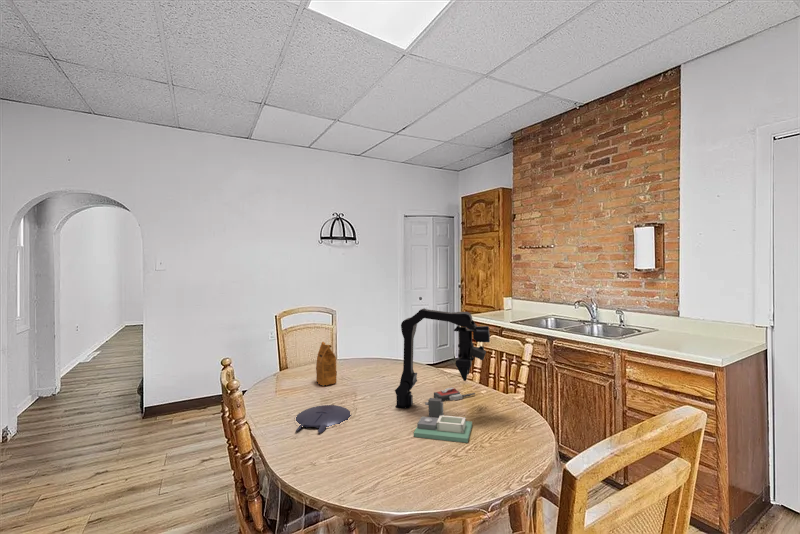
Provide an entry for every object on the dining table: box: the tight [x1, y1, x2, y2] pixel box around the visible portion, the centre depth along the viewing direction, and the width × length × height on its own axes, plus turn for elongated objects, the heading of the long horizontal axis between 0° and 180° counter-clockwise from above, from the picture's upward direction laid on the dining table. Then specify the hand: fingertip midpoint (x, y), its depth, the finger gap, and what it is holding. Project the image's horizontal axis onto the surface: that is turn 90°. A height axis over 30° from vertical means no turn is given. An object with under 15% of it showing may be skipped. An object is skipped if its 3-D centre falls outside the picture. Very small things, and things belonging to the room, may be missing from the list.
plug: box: [424, 397, 444, 418], centre depth 160 cm, size 7×3×7 cm, turn 73°
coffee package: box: [315, 341, 337, 387], centre depth 208 cm, size 10×12×22 cm
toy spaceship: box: [295, 404, 352, 434], centre depth 160 cm, size 28×24×3 cm
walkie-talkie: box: [433, 387, 476, 402], centre depth 182 cm, size 9×4×20 cm
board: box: [413, 414, 473, 444], centre depth 146 cm, size 20×15×4 cm
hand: (466, 377), depth 164 cm, fingers open, 9 cm apart
